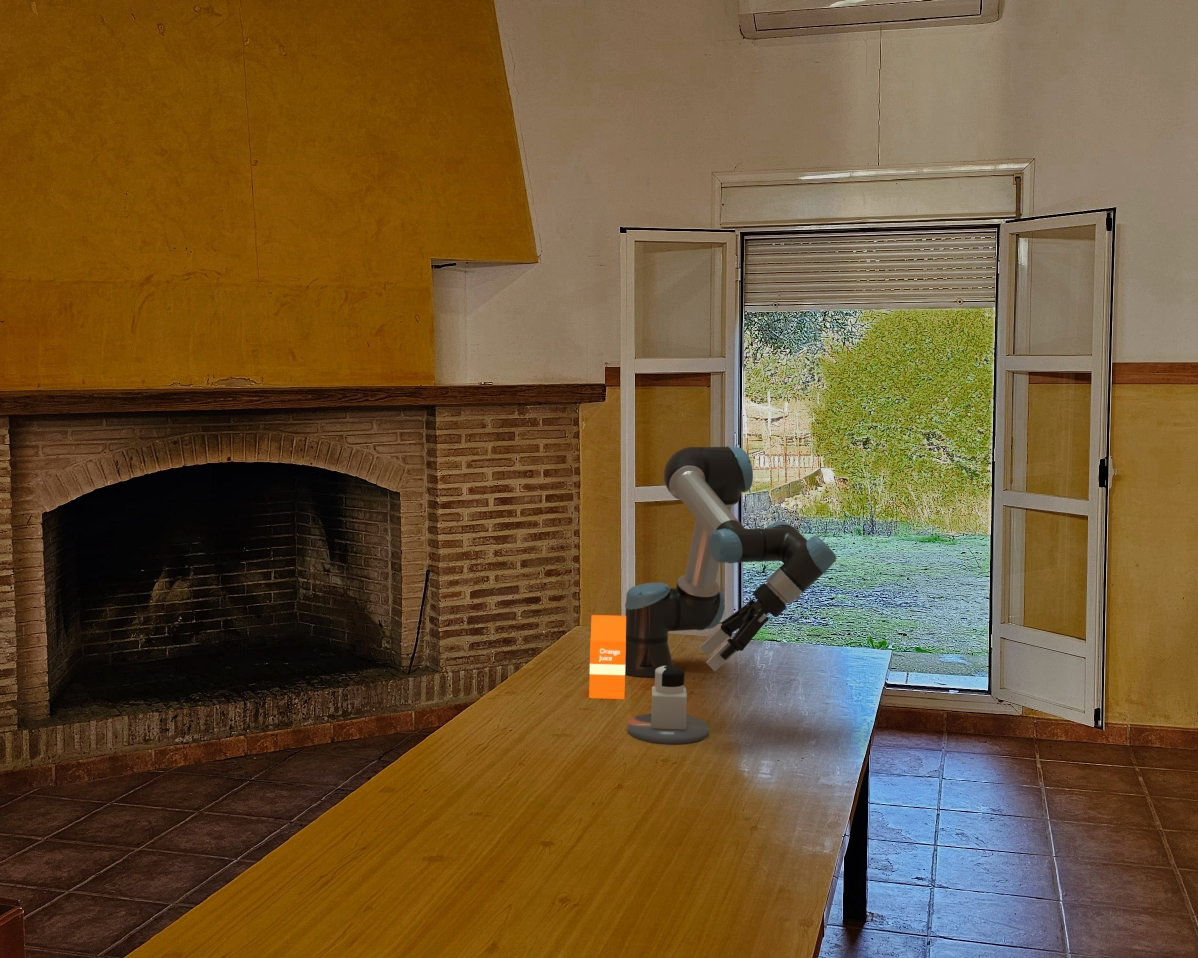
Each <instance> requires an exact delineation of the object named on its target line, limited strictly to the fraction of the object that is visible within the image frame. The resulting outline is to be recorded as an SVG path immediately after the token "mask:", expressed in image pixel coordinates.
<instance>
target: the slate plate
mask: <svg viewBox="0 0 1198 958" xmlns="http://www.w3.org/2000/svg"><path fill="white" fill-rule="evenodd" d="M627 722H628V723H627V732H628V734H629V735H630V736H632V737H634V739H635V738H636V739H637V740H641V741H644V742H648V743H652V744H659V743H660V744H661V745H686V744H693V743H697V742H700V741H703V740H705V739H706V738H707V737H708V736H709V724H708V723H707V722H706V721H705V720H702V719H700V718H698V717H695V716H691V715H687V714H686V729H685V730H670V729H652V728H651V713H646V714H641V715H638V716H634V717H633V718H631V719H629V720H628V721H627Z"/></svg>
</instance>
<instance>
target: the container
mask: <svg viewBox="0 0 1198 958" xmlns="http://www.w3.org/2000/svg"><path fill="white" fill-rule="evenodd" d="M687 704H688V695H687V687H685V670H684V669H683V668H681V667H679V666H676V665H674V666H661V667H659V668H657V669H656V670H655V677H654V685H653V686H652V687H651V707H650V709H651V712H650V714H651V728H652V729H670V730H685V729H686V715H687V713H688V712H687V708H688V707H687V706H688V705H687Z"/></svg>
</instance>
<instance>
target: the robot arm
mask: <svg viewBox="0 0 1198 958" xmlns="http://www.w3.org/2000/svg"><path fill="white" fill-rule="evenodd" d="M664 467H665V468H664V470H663V480H664V484H665V486H666V487H665V488H666V489H667V490H668V492H669V493H670V494H671V496H672V497H673V498H674V499H676V500H679V501H681V502H682V503H683V504H684V506H685V507H686V508H687V509H688V511H689V512H690V513H691V514H692V516H693V517H694V518H695V522H694V527H693V532H692V537H691V542H690V546H689V551H688V556H687V561H686V566H685V571H684V574H683V575H680V576H679V578H678V579H677V583H676V586H675V587H672V588H671V587H670V585H669V584H667V583H664V582H647V583H642V584H641V583H640V584H636V585H634V586H631V587H630V588H629V589H628V590H627V593H626V598H625V599H626V600H625V604H624V606H625V607H624V608H625V616H626V651H625V675H628V676H633V677H642V678H655V670H656V669H657V668H659V667H661V666H675V664H674V660H673V659H672V655H671V651H670V646H669V632H678V631H680V632H682V631H704V630H711V629H713V628H716V627H717V626H718V625H719V624H720V623H721V625H720V627H719V628H718V629H717V630H716V631H715V632H714V633H713V634H711V635H710V637H709V638H707V639H706V640H705V641H704V642H703V643H702V644H701V645H699V649H700V650H701V651H702V652H703V653H704V654H705V655H706V656H707V657H709V656H710V655H711V654H712V653H713V652H715V650H717V648H719V647H720V646H721V645H722V643H724V642H725V641H727V642H726V643H725V644H723V645H722V646H721V648H719V649H718V650H717V651H716V652H715V653H714V654H713V655H712V656H711V657H710V658H709V659H708V660H707V661H706V662H705V663H706V664H707V665H708V666H709V667H710V669H712V670H713V671H714V672H716V671H718V670H719V669H720V668H721V667H722V666H723V665H724V664H725V663H726V662H727V661H728V660H729V659H731V657H732V656H734V655H735V654H736V653H737V652H738V651H740V652H742V651H744V649H745V648H746V647H747V646H748V645H749V643H750V642H751V641H752V640H753V638H754V637H755V636H756V635H757V634H758V632H759V631H760V630H761V629H762V628H763V626H765V624H767V622H768V621H769V620H770V618H769V616H767V615H769V614H771V615H772V617H774V618H778V617H779V616H780V614H782V613H783V612H784V611H785V610H786V609H787V606H788V605H791V604H792V603H793V602H794V601H795V600H800V599H801V595H802V594H803V593H804V592H805V591H806V590H807V589H808V588H810V587H811V586H812V584H814V583H815V582H816V581H817V580H818V579H819V578H820V577H821V576H823V574H825V573H827V572H828V570H829V569H830V567H832V565H834V564H835V563H836V561H837V556H836V553H835V552H834V551H833V550H832V549H831V547H829V546H828V545H827V544H826V543H825V542H824V541H823V539H821V538H820V537H819V536H817V535H812V536H811V537H810V538H808V539H807V538H806V537H805V536H804V535H803V534H801V532H799V530H798V529H797V528H796V527H795V526H792V525H791V524H790V523H788V522H786V521H781V520H778V521H775V522H773V523H771V524H769V525H768V526H767V528H746V527H745V526H744V525H743V524H742V523H741V522H740V521H739V520H738V518H737V517H735V515H734V514H733V513H732V507H733V506H734V505H736V504H738V503H739V501H740V497H741V494H742V493H746V492H748V491H750V489H751V488H752V485H753V481H754V479H753V477H754V470H753V465H752V462H751V458H750V456H749V455H748V453H747V452H746V451H745V450H744V449H743V448H741V447H736V446H735V447H733V446H728V445H727V446H687V447H684V448H681V449H679V450H677V451H676V452H675V453H674V454H672V455H671V456H670V457H669V459H668V461H667V462H666V464H665V466H664ZM753 562H754V563H755V562H757V563H760V562H781V563H783V564H781V565H780V566H779V567H778V568H777V569H776V570H774V571H773V573H772V574H770V575H769V577H767V578H766V583H765V582H764V583H761V584H760V585H759V586H758V587H757V588H756V589H755V590H754V591H753V592H752V595H753V597H754V598H756V601H755V600H754V599H749V601H748V602H747V603H746V604H745V605H744V606H742V607H741V608H739V609H738V610H737V611H735V612H733V613H732V614H731V615H730V616H728V617H727V618H726V619H723V617H724V612H725V605H724V603H725V596H724V593H723V591H722V590H721V589H720V588H721V587H720V585H719V583H718V582H717V576H718V573H719V572H718V571H719V567H720V563H724V564H725V563H726V564H736V563H753ZM787 604H788V605H787ZM722 619H723V620H722ZM721 620H722V622H721ZM734 632H736V633H734ZM733 633H734V636H733ZM732 636H733V637H732ZM731 637H732V638H731ZM728 638H729V639H728Z"/></svg>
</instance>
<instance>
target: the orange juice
mask: <svg viewBox="0 0 1198 958" xmlns="http://www.w3.org/2000/svg"><path fill="white" fill-rule="evenodd" d="M590 627H591V629H590V645H589V647H590V648H589V653H590V654H589V690H588V692H589V693H588V697H589V699H609V700H610V699H612V700H613V699H615V700H625V689H626V687H625V685H626V683H625V682H626V680H625V679H626V674H625V651H626V615H607V614H606V615H602V614H600V615H599V614H591V625H590Z"/></svg>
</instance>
